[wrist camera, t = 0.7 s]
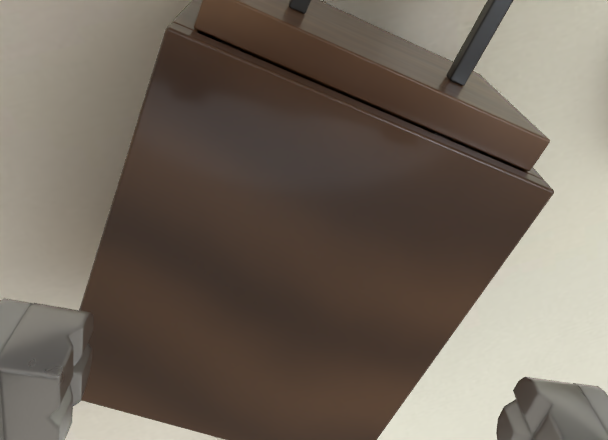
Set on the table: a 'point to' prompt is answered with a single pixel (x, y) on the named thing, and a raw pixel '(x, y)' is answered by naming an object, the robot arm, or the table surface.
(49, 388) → the robot arm
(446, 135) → the drawer
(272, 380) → the cabinet
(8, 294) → the table surface
